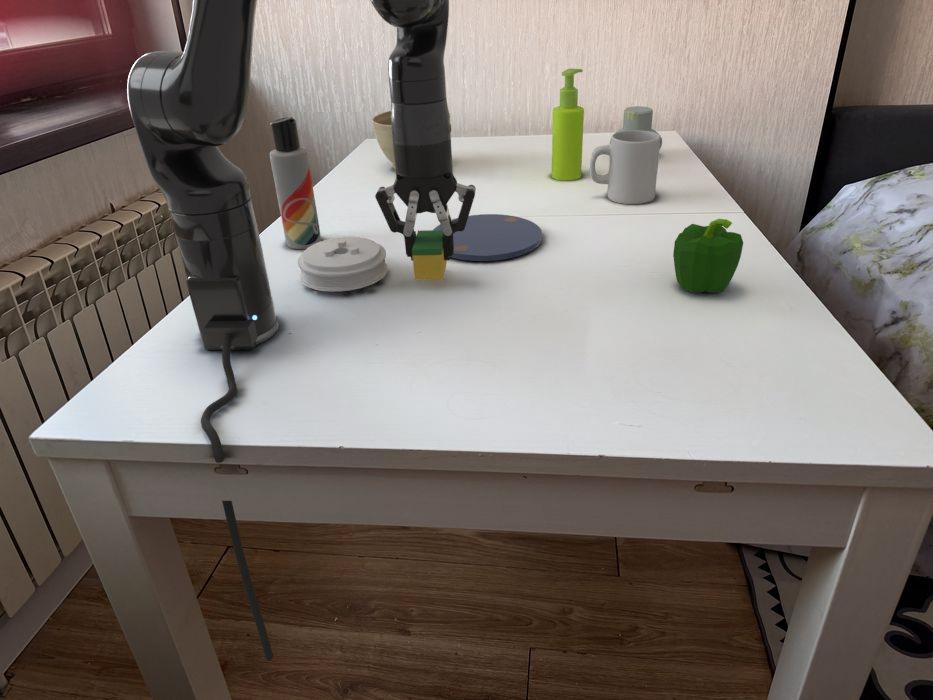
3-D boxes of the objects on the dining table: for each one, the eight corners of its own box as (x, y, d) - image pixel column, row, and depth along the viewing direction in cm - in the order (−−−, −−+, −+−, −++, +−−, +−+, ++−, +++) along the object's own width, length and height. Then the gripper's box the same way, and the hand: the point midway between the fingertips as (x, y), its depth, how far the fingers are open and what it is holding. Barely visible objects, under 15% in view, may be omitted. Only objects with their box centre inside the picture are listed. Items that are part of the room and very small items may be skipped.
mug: (650, 188, 131) (655, 129, 125) (659, 204, 123) (665, 141, 118) (586, 190, 131) (588, 131, 126) (590, 205, 124) (593, 143, 118)
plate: (543, 262, 104) (543, 254, 103) (424, 263, 105) (423, 256, 105) (540, 219, 119) (540, 212, 119) (436, 221, 121) (435, 214, 120)
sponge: (443, 279, 96) (441, 248, 94) (414, 279, 96) (411, 249, 94) (447, 258, 102) (445, 229, 100) (420, 259, 102) (417, 230, 100)
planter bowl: (410, 154, 159) (406, 104, 154) (467, 163, 151) (465, 111, 145) (362, 172, 148) (355, 119, 143) (420, 183, 140) (416, 128, 134)
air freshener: (633, 148, 155) (637, 102, 150) (665, 155, 150) (670, 106, 144) (603, 159, 149) (606, 111, 144) (635, 166, 143) (639, 116, 138)
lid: (284, 291, 99) (277, 258, 96) (330, 257, 109) (325, 226, 106) (362, 302, 95) (357, 269, 92) (403, 266, 105) (400, 235, 102)
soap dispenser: (587, 172, 141) (592, 67, 131) (573, 182, 136) (577, 73, 126) (561, 169, 144) (564, 66, 134) (546, 178, 139) (548, 72, 129)
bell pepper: (656, 281, 96) (664, 212, 91) (704, 269, 99) (714, 201, 94) (696, 306, 90) (707, 233, 85) (747, 292, 92) (760, 221, 87)
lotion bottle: (313, 250, 112) (292, 122, 101) (280, 249, 113) (256, 122, 102) (326, 237, 116) (307, 113, 106) (294, 236, 117) (272, 113, 107)
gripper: (361, 144, 87) (376, 270, 96) (475, 141, 86) (479, 268, 95) (372, 129, 93) (385, 249, 102) (477, 126, 92) (482, 247, 101)
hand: (430, 257), depth 98 cm, fingers closed on sponge, 4 cm apart
